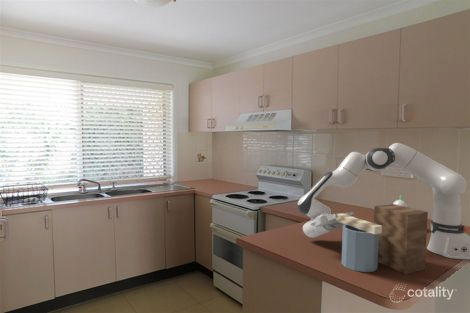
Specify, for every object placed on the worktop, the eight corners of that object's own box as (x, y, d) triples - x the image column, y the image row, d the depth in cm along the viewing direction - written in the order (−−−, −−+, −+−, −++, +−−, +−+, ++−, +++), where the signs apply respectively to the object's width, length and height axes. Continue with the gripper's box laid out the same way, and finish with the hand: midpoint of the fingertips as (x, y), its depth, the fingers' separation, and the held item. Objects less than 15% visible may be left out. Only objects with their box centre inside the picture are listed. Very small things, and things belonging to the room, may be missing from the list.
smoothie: (401, 226, 190) (403, 194, 189) (409, 230, 182) (411, 196, 180) (388, 226, 190) (389, 194, 188) (395, 230, 181) (397, 196, 180)
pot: (375, 261, 135) (377, 225, 134) (378, 274, 122) (380, 234, 121) (341, 256, 140) (343, 221, 139) (341, 268, 127) (342, 230, 126)
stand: (372, 259, 137) (374, 206, 135) (391, 255, 142) (393, 204, 140) (405, 274, 122) (408, 214, 121) (424, 269, 127) (427, 212, 126)
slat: (334, 220, 141) (335, 214, 141) (341, 219, 142) (341, 213, 142) (374, 234, 121) (374, 227, 121) (381, 233, 122) (382, 225, 122)
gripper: (306, 218, 146) (324, 209, 135) (339, 214, 155) (358, 206, 143) (310, 231, 144) (328, 224, 132) (343, 227, 152) (363, 219, 141)
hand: (344, 214), depth 138 cm, fingers open, 8 cm apart
